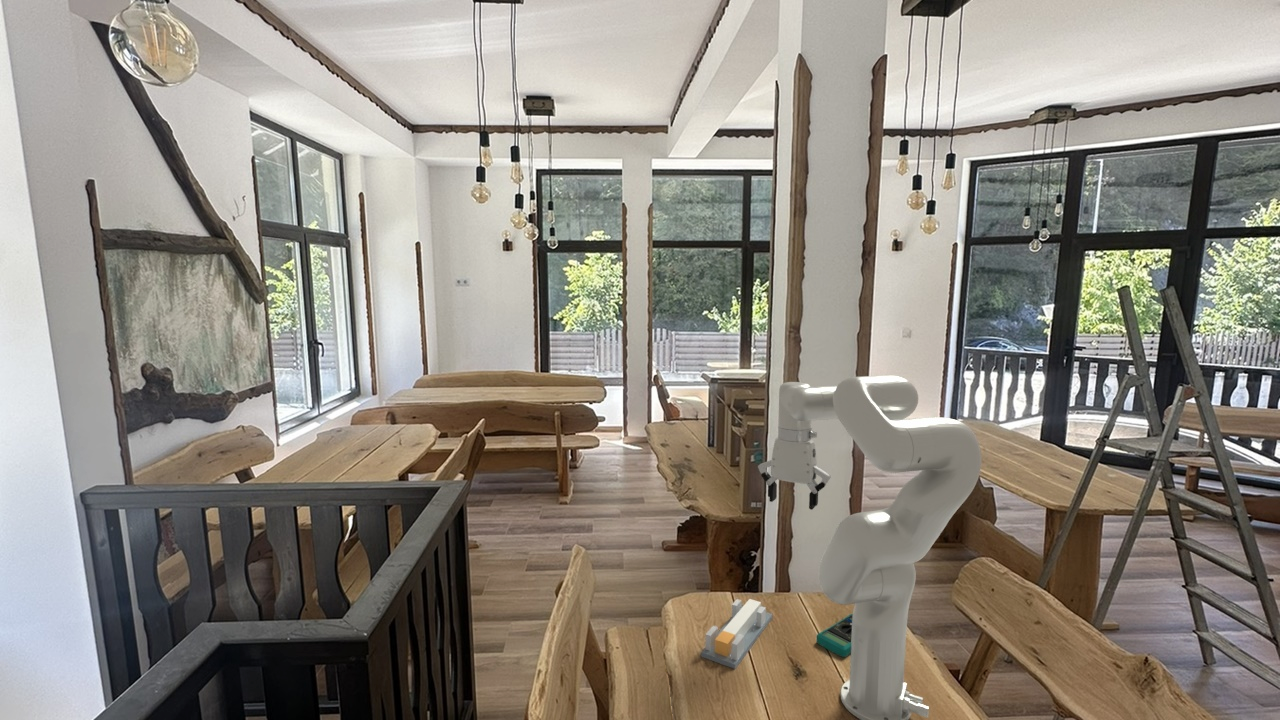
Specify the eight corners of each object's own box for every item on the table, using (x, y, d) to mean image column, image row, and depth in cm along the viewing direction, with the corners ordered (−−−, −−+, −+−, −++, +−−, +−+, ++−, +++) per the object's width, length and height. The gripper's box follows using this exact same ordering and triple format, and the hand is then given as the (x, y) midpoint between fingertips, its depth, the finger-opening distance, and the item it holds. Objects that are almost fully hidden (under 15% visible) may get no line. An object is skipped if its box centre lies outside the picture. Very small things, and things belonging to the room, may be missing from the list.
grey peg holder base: (772, 617, 142) (772, 600, 142) (735, 669, 123) (735, 649, 122) (741, 608, 146) (742, 591, 146) (701, 656, 127) (701, 637, 126)
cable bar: (760, 613, 142) (761, 602, 142) (727, 656, 125) (727, 643, 125) (749, 610, 144) (749, 598, 143) (714, 652, 127) (714, 639, 127)
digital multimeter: (879, 635, 136) (880, 623, 135) (844, 660, 126) (844, 647, 126) (851, 622, 141) (851, 610, 141) (815, 644, 132) (815, 632, 132)
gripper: (835, 435, 137) (832, 506, 139) (764, 426, 146) (763, 493, 148) (827, 442, 131) (824, 516, 133) (753, 433, 140) (752, 501, 142)
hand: (792, 503), depth 140 cm, fingers open, 9 cm apart
